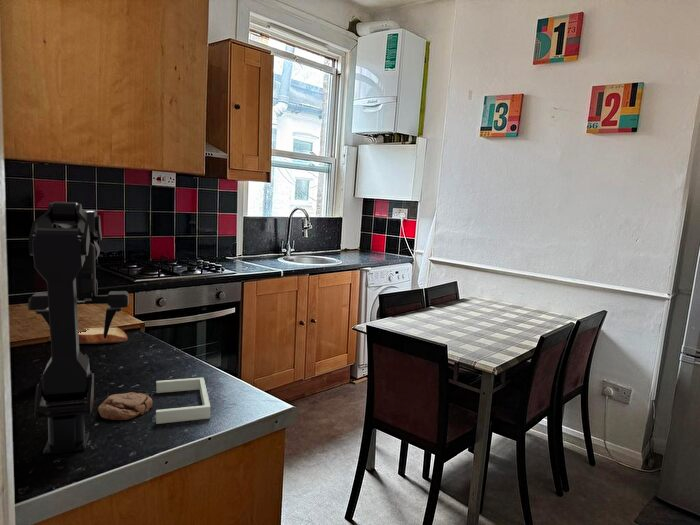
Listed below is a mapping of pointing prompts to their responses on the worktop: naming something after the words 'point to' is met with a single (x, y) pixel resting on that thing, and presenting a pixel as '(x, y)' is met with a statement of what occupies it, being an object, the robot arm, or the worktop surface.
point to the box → (183, 412)
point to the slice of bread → (102, 336)
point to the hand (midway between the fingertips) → (81, 339)
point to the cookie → (125, 406)
